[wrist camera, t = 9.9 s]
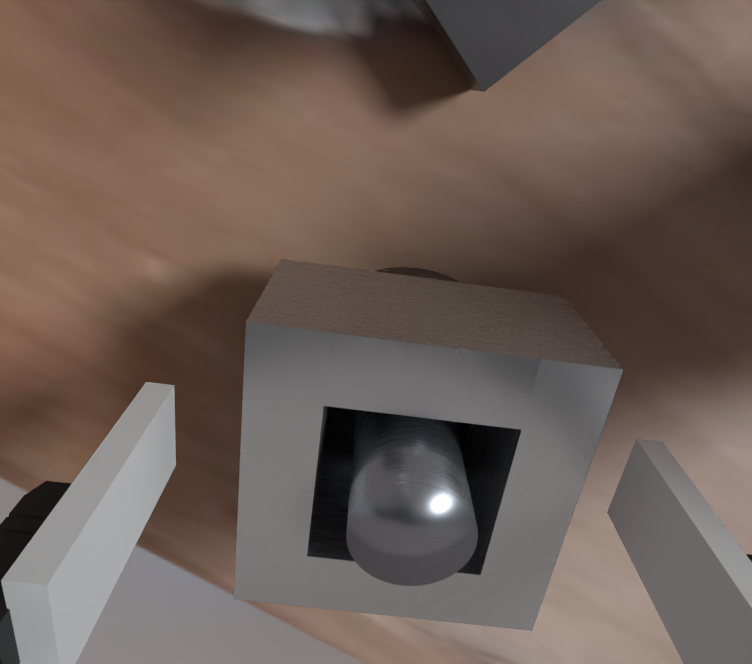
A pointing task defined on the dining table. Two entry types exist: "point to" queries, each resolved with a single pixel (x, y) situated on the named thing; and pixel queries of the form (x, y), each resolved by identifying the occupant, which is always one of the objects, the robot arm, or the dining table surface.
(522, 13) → the stand
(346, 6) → the dining table surface
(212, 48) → the dining table surface
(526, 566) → the grey square ring block
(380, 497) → the cylinder
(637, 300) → the dining table surface
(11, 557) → the robot arm
